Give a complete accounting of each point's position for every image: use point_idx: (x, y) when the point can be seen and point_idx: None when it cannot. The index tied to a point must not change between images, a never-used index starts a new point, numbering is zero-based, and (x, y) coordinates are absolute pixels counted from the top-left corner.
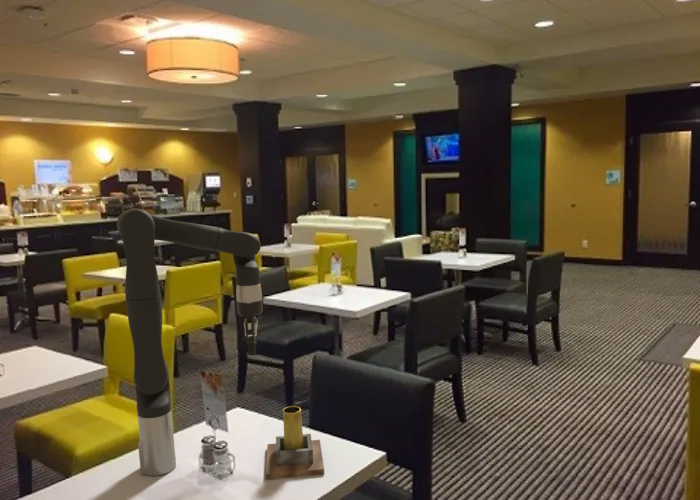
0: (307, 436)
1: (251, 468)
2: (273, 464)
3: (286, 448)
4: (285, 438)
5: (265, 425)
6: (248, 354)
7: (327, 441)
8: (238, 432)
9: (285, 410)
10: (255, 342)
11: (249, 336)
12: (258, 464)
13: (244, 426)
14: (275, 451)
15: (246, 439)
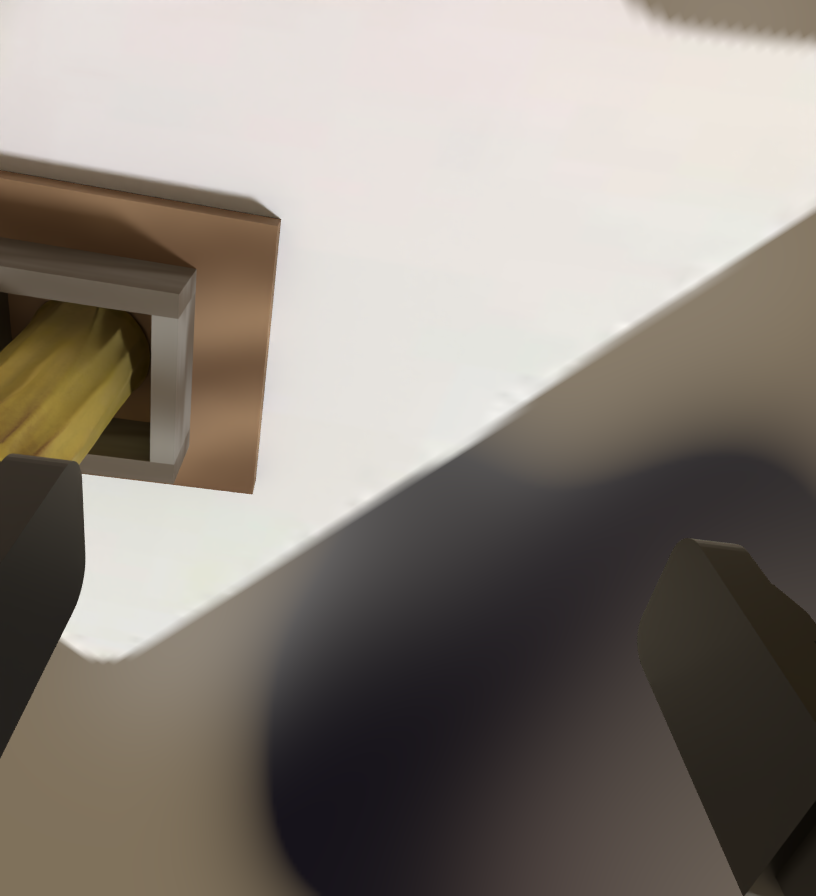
0: (139, 462)
1: (48, 79)
2: (6, 220)
3: (26, 328)
4: (10, 350)
5: (600, 254)
6: (6, 461)
7: (275, 515)
8: (586, 60)
9: (9, 451)
10: (670, 695)
11: (812, 742)
12: (94, 132)
13: (657, 116)
14: (169, 257)
15: (457, 103)
